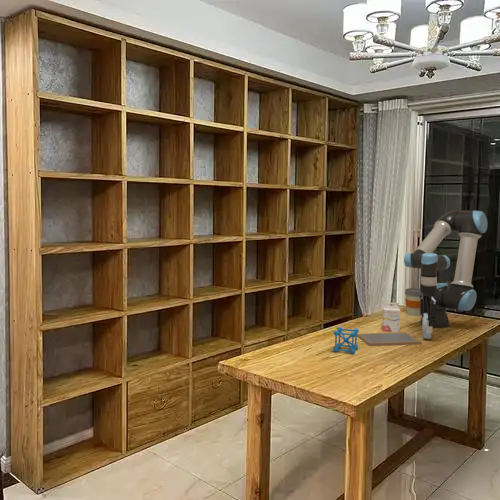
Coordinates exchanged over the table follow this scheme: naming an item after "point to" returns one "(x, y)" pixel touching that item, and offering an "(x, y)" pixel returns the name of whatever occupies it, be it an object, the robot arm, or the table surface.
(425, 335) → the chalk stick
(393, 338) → the slate board
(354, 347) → the molecular structure
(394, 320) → the ink cartridge box
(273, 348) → the table surface
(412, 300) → the reusable coffee cup
